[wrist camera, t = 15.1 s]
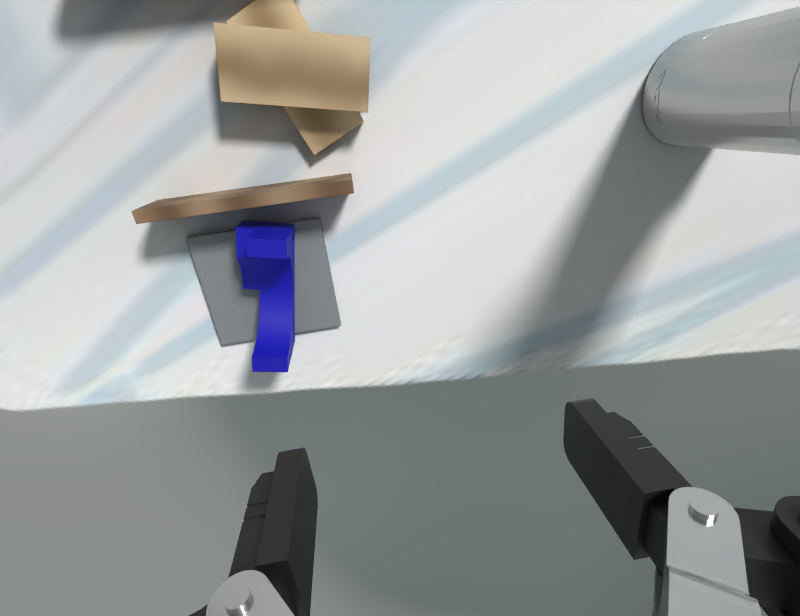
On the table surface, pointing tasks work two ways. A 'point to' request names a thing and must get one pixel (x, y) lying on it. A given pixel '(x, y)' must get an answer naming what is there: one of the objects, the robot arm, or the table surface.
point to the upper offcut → (292, 68)
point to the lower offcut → (312, 123)
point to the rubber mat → (241, 306)
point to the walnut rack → (244, 198)
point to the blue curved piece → (270, 288)
